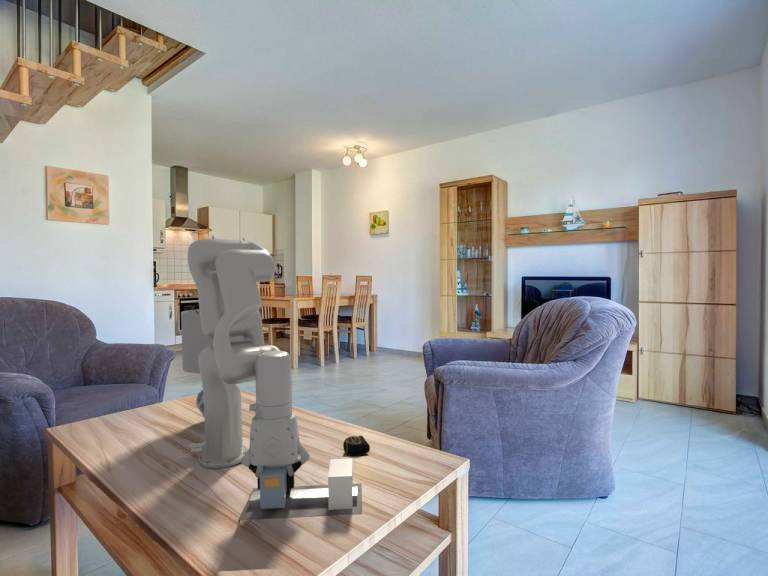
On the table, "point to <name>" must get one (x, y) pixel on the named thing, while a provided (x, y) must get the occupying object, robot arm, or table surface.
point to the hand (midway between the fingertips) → (276, 490)
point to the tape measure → (356, 445)
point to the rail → (301, 497)
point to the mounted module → (340, 484)
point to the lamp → (195, 346)
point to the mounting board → (300, 508)
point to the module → (273, 487)
